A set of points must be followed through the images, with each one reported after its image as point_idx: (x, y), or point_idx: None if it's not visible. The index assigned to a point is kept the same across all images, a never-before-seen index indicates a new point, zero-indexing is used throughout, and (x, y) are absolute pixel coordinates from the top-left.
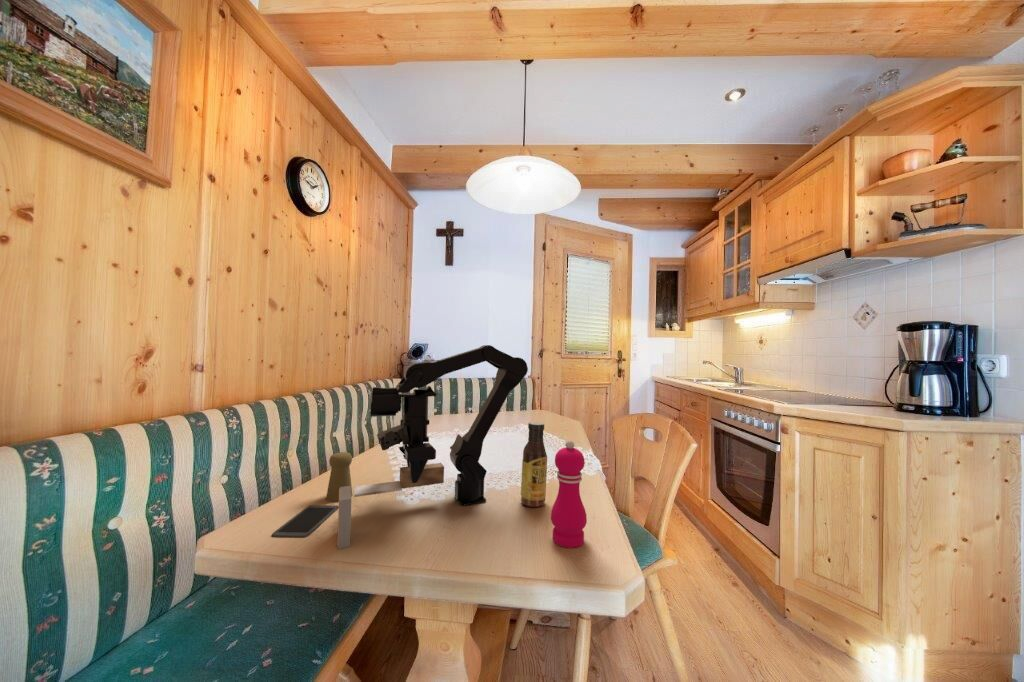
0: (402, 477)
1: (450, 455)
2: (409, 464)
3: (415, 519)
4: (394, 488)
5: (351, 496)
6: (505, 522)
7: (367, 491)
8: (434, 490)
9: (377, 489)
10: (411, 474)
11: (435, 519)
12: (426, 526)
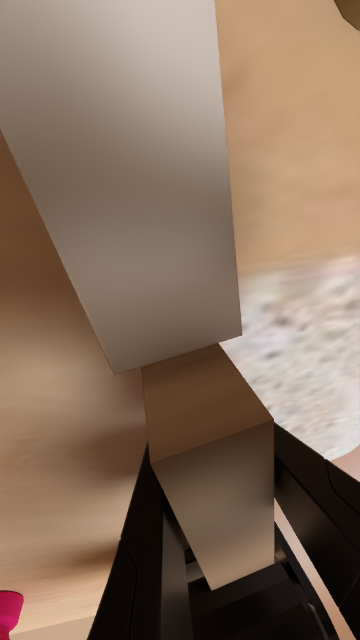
0: (147, 416)
1: (300, 628)
2: (289, 483)
3: (72, 364)
4: (112, 334)
5: (357, 25)
6: (60, 532)
7: (34, 99)
8: (278, 381)
9: (90, 208)
10: (133, 492)
11: (73, 415)
12: (20, 401)
